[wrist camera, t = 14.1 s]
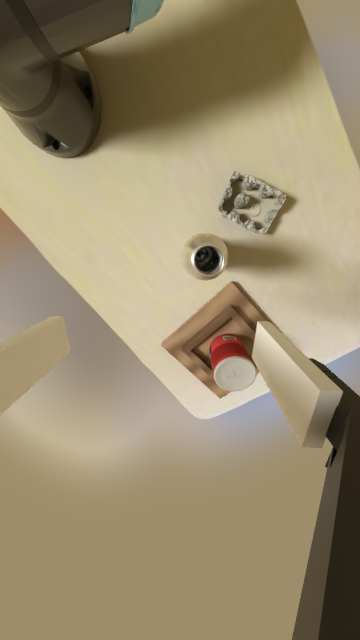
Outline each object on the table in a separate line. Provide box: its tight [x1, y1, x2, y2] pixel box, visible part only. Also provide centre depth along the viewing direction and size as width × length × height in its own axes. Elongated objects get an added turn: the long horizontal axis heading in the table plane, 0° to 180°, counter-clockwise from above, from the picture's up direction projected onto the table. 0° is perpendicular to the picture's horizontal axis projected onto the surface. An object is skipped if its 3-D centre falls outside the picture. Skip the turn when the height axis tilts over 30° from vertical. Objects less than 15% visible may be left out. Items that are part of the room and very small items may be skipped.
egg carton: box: [219, 171, 287, 234], centre depth 36 cm, size 11×8×4 cm
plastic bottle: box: [182, 233, 228, 280], centre depth 32 cm, size 6×7×20 cm
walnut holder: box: [161, 282, 266, 398], centre depth 47 cm, size 22×22×4 cm
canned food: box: [209, 334, 256, 391], centre depth 42 cm, size 8×8×11 cm
